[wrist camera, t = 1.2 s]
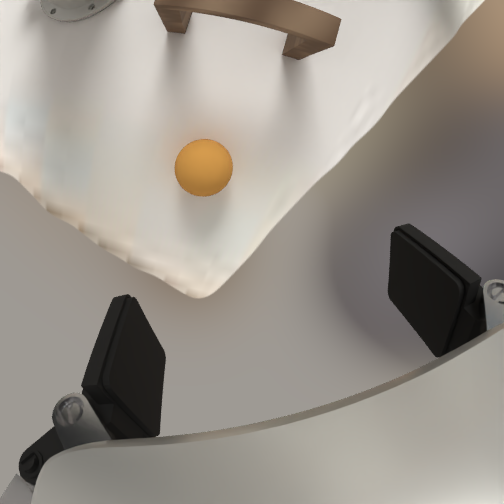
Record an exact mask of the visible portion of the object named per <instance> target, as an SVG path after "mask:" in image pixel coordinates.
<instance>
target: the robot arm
mask: <svg viewBox="0 0 504 504" xmlns="http://www.w3.org/2000/svg"><path fill="white" fill-rule="evenodd" d="M114 1H115V0H41V7H42V9H43V11H44V12H45V13H46V14H47V15H48V16H49V17H51V18H53V19H55V20H58V21H64V22H70V21H77V20H81V19H84V18H87V17H89V16H92V15H94V14H96V13H98V12H99V11H101V10H103V9H104V8H106V7H107V6H109V5H110V4H112V3H113V2H114ZM93 8H94V9H93ZM480 282H481V277H480V276H479V275H477V274H476V273H475V272H474V271H473V270H471V269H470V268H469V267H468V266H466V265H465V264H464V263H462V262H461V261H460V260H459V259H457V258H456V257H455V256H453V255H452V254H451V253H450V252H448V251H447V250H446V249H444V248H443V247H442V246H440V245H439V244H438V243H436V242H435V241H434V240H432V239H431V238H430V237H428V236H426V235H425V234H424V233H423V232H421V231H420V230H418V229H417V228H415V227H414V226H412V225H411V224H405V225H401V226H398V227H395V229H394V232H392V233H391V246H390V267H389V283H388V295H389V298H390V300H391V301H392V302H393V304H394V305H395V306H396V307H397V308H398V310H399V311H400V312H401V313H402V314H403V316H404V317H405V318H406V319H407V321H408V322H409V323H410V325H411V326H412V327H413V328H414V330H415V331H416V332H417V333H418V335H419V336H420V337H421V338H422V340H423V341H424V342H425V344H426V345H427V346H428V348H429V349H430V350H431V352H432V353H433V354H434V355H435V356H436V357H439V358H438V359H436V360H434V361H432V362H430V363H428V364H426V365H424V366H422V367H420V368H418V369H415V370H413V371H411V372H409V373H407V374H405V375H403V376H400V377H398V378H396V379H393V380H391V381H389V382H386V383H384V384H381V385H379V386H376V387H374V388H371V389H369V390H366V391H364V392H361V393H358V394H355V395H353V396H350V397H347V398H344V399H341V400H338V401H335V402H332V403H329V404H326V405H323V406H320V407H316V408H313V409H310V410H306V411H303V412H299V413H295V414H291V415H288V416H284V417H280V418H276V419H271V420H267V421H263V422H258V423H253V424H249V425H244V426H238V427H233V428H227V429H221V430H215V431H208V432H201V433H193V434H185V435H175V436H166V437H156V436H158V435H159V434H160V421H161V406H162V393H163V381H164V371H165V361H166V357H165V352H164V349H163V348H162V346H161V344H160V343H159V341H158V339H157V337H156V335H155V333H154V332H153V330H152V328H151V326H150V324H149V322H148V320H147V319H146V317H145V315H144V313H143V311H142V309H141V307H140V305H139V303H138V301H137V299H136V298H135V297H131V296H130V295H128V294H127V295H122V296H118V297H114V298H113V300H112V302H111V304H110V307H109V309H108V312H107V314H106V317H105V319H104V322H103V324H102V327H101V329H100V332H99V335H98V338H97V340H96V343H95V346H94V348H93V351H92V354H91V357H90V360H89V363H88V366H87V369H86V372H85V375H84V378H83V381H82V385H81V386H82V387H83V391H82V394H80V393H70V394H67V395H66V396H64V397H63V398H61V399H60V400H59V401H58V403H57V404H56V405H55V407H54V410H53V414H52V420H53V423H54V427H53V428H52V429H50V430H49V431H48V432H47V433H46V434H45V435H43V436H42V437H41V438H40V439H39V440H37V441H36V442H35V443H34V444H32V445H31V446H30V447H29V448H27V449H26V450H25V452H23V454H22V456H21V458H20V461H19V471H20V476H19V475H18V474H16V475H15V476H14V478H13V480H12V481H11V482H10V484H9V485H8V487H7V489H6V490H5V492H4V493H3V495H2V497H1V498H0V504H504V281H502V280H490V281H488V282H486V283H485V285H484V286H483V288H482V287H481V286H480Z"/></svg>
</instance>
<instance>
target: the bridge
mask: <svg viewBox="0 0 504 504" xmlns="http://www.w3.org/2000/svg"><path fill="white" fill-rule="evenodd" d="M154 6H155V8H156V10H157V12H158V14H159V16H160V18H161V20H162V22H163V24H164V26H165V28H166V30H167V32H176V33H184V34H185V32H186V29H187V26H188V23H189V20H190V17H191V14H192V12H195V13H202V14H208V15H214V16H220V17H225V18H230V19H235V20H240V21H244V22H248V23H252V24H256V25H260V26H264V27H267V28H271V29H275V30H278V31H281V32H284V33H288V36H287V39H286V43H285V46H284V50H283V53H282V55H285V56H288V57H291V58H294V59H297V60H300V59H302V58H305V57H307V56H309V55H312V54H315V53H317V52H320V51H322V50H325V49H328V48H330V47H333V46H334V45H335V41H336V37H337V34H338V30H339V26H340V22H341V19H340V18H338V17H336V16H333V15H331V14H329V13H326V12H324V11H321V10H319V9H316V8H313V7H311V6H308V5H305V4H302V3H299V2H297V1H294V0H155V2H154Z"/></svg>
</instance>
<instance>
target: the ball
mask: <svg viewBox="0 0 504 504" xmlns="http://www.w3.org/2000/svg"><path fill="white" fill-rule="evenodd" d="M232 171H233V164H232V159H231V156H230V154H229V152H228V151H227V150H226V148H225V147H224V146H222V145H221V144H219V143H218V142H216V141H213V140H208V139H201V140H196V141H193V142H191V143H189V144H188V145H186V146H185V147H184V148H183V149H182V150H181V151H180V153H179V154H178V156H177V159H176V162H175V175H176V178H177V181H178V182H179V184H180V185H181V187H182V188H183V189H184V190H185V191H187V192H188V193H190V194H193V195H196V196H210V195H213V194H216V193H218V192H219V191H221V190H222V189H223V188H224V187H225V186H226V185H227V184H228V182H229V180H230V178H231V175H232Z"/></svg>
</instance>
